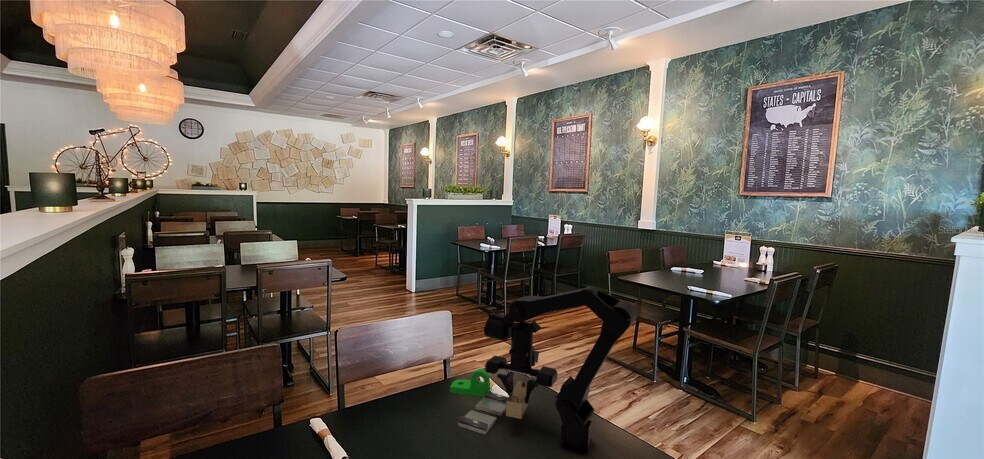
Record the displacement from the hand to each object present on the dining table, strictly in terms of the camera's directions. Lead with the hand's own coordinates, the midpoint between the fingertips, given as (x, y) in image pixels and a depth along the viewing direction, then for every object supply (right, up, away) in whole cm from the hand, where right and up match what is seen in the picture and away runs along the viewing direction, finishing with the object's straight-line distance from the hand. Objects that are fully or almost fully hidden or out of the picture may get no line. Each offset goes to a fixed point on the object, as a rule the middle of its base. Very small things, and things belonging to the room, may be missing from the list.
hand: (519, 401), depth 110 cm
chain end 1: (-7, -5, +9) cm, 13 cm away
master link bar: (0, -1, 0) cm, 1 cm away
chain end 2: (-11, -6, 0) cm, 13 cm away
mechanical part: (-14, -5, +19) cm, 24 cm away
